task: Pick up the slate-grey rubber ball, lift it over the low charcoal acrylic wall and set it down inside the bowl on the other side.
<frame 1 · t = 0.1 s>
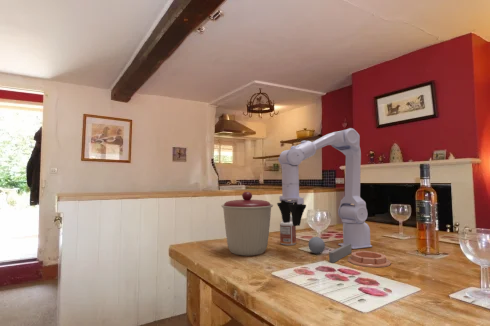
hand: (291, 224, 99), 10 cm above the table, fingers open, 7 cm apart
ball: (316, 245, 100), point 3 cm above the table
bowl: (368, 261, 89), on the table
low wall: (341, 257, 94), on the table
pill bottle: (288, 244, 115), on the table
canister: (247, 253, 101), on the table
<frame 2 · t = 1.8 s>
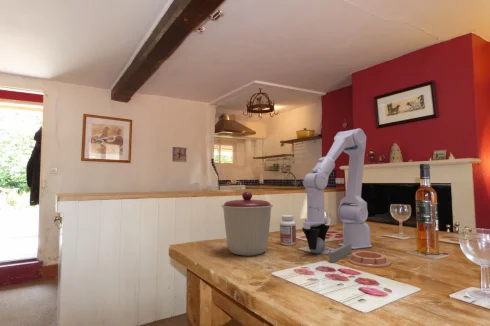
hand: (316, 247, 100), 2 cm above the table, fingers closed on ball, 5 cm apart
ball: (316, 245, 100), point 3 cm above the table, touching gripper
everything else where it was.
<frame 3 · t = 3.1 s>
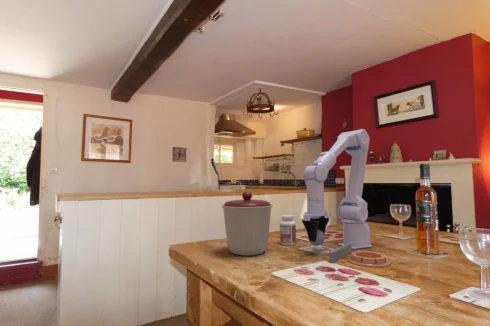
hand: (316, 239, 100), 5 cm above the table, fingers closed on ball, 5 cm apart
ball: (316, 237, 100), point 5 cm above the table, touching gripper
everything else where it was.
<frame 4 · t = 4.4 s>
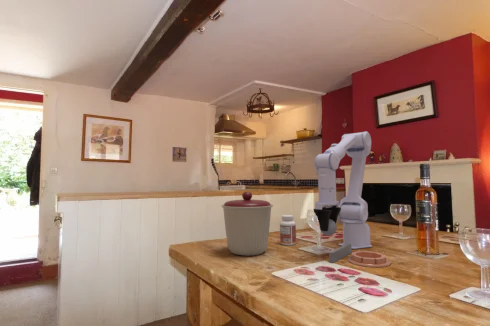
hand: (328, 229, 97), 8 cm above the table, fingers closed on ball, 5 cm apart
ball: (328, 227, 97), point 9 cm above the table, touching gripper
everything else where it was.
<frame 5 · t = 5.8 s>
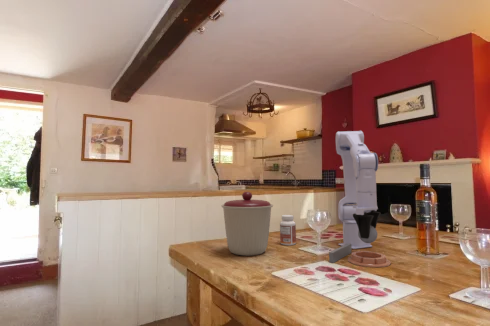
hand: (367, 236, 89), 8 cm above the table, fingers closed on ball, 5 cm apart
ball: (367, 233, 89), point 8 cm above the table, touching gripper
everything else where it was.
when the fingers open (3 cm above the table, at t = 7.0 s): ball stays where it is, resting on bowl.
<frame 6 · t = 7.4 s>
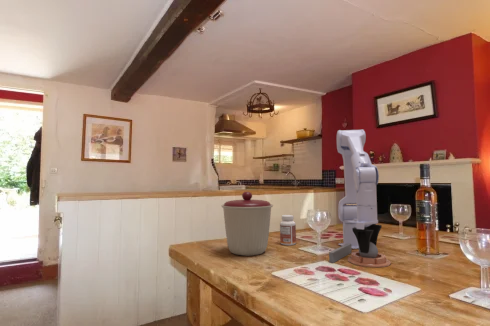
hand: (368, 250, 89), 3 cm above the table, fingers open, 7 cm apart
ball: (368, 250, 89), point 3 cm above the table, touching bowl
everything else where it was.
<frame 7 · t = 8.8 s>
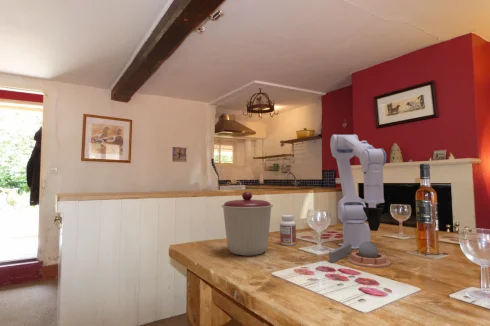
hand: (374, 228, 93), 9 cm above the table, fingers open, 7 cm apart
nothing on the table moved.
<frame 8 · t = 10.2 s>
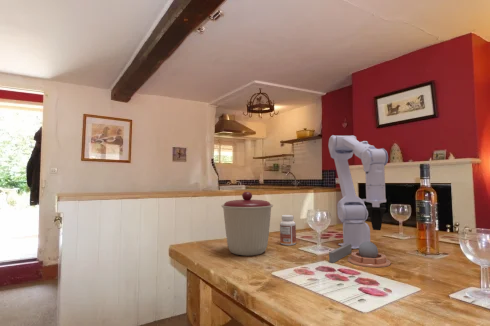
hand: (376, 228, 94), 9 cm above the table, fingers open, 7 cm apart
nothing on the table moved.
at the end: ball 0.1 cm off-centre on the bowl, point 3.2 cm above the bowl's base; the gripper is holding nothing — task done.
